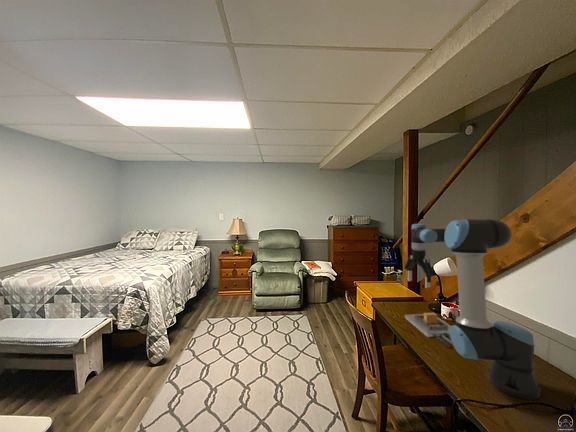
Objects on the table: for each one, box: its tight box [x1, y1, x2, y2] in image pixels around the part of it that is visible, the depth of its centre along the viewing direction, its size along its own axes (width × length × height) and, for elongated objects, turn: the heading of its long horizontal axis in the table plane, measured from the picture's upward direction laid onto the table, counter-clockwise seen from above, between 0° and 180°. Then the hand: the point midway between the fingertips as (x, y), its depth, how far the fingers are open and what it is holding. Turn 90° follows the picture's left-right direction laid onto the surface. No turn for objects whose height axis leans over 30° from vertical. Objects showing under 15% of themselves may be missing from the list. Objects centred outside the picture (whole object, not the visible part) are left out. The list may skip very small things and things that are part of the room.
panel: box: [404, 313, 452, 338], centre depth 145 cm, size 24×18×4 cm
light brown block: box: [423, 312, 438, 324], centre depth 145 cm, size 3×6×5 cm, turn 92°
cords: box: [434, 335, 454, 349], centre depth 128 cm, size 11×8×1 cm
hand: (418, 284), depth 151 cm, fingers open, 13 cm apart
